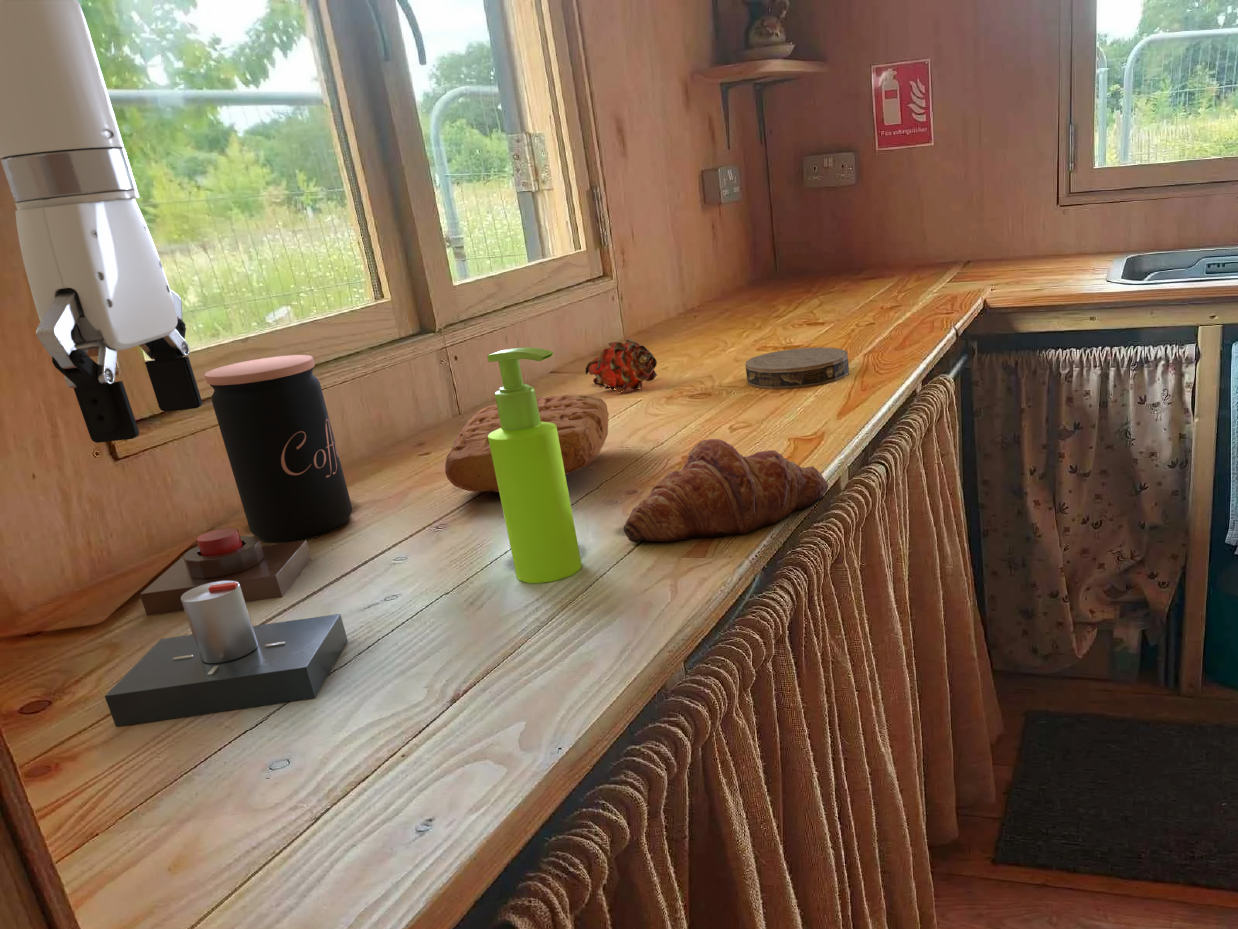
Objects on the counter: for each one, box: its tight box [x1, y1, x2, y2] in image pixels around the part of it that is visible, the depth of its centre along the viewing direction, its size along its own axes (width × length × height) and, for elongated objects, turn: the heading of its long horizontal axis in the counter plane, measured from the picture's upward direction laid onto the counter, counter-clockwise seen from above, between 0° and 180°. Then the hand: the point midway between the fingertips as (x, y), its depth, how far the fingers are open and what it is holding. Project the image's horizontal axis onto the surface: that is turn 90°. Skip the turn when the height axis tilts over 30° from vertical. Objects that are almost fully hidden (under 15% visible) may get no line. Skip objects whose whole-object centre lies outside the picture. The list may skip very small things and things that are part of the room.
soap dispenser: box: [486, 346, 582, 584], centre depth 95 cm, size 6×7×20 cm
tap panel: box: [104, 613, 349, 728], centre depth 83 cm, size 14×10×3 cm
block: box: [139, 535, 312, 617], centre depth 103 cm, size 12×10×4 cm
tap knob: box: [181, 581, 258, 663], centre depth 81 cm, size 4×4×5 cm
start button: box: [196, 527, 243, 556], centre depth 102 cm, size 4×4×2 cm
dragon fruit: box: [583, 338, 658, 393], centre depth 172 cm, size 8×8×12 cm
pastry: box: [623, 438, 829, 544], centre depth 106 cm, size 17×15×8 cm
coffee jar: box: [204, 354, 353, 544], centre depth 116 cm, size 11×11×18 cm
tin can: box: [744, 346, 850, 390], centre depth 168 cm, size 16×16×3 cm
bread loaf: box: [444, 393, 610, 493], centre depth 128 cm, size 22×17×8 cm
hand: (151, 423), depth 82 cm, fingers open, 9 cm apart
